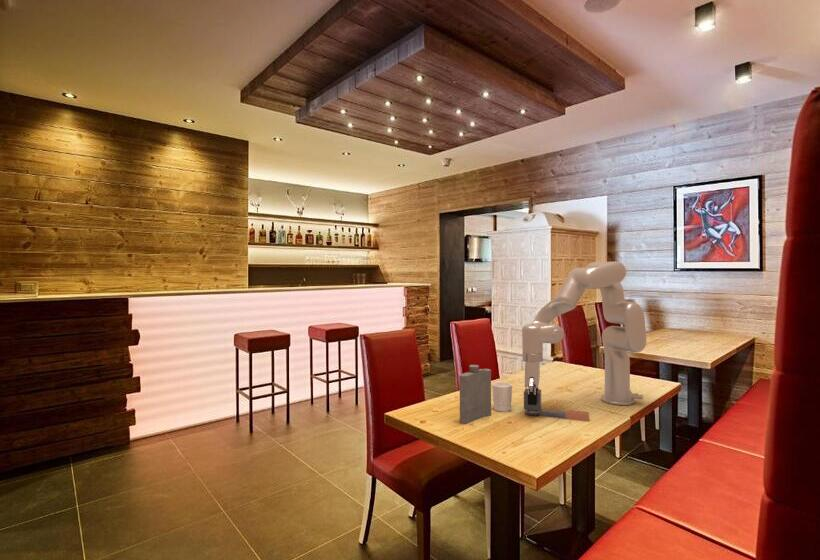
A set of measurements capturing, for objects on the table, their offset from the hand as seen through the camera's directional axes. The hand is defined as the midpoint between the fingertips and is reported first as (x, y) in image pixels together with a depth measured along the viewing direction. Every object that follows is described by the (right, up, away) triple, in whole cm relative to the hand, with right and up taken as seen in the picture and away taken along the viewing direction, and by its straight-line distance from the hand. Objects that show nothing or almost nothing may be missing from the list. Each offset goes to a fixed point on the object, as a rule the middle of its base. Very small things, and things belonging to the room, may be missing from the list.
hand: (533, 400), depth 162 cm
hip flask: (-23, -6, -4) cm, 24 cm away
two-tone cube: (0, -3, 0) cm, 3 cm away
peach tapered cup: (-11, -5, +6) cm, 13 cm away
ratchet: (+7, -5, -3) cm, 9 cm away
